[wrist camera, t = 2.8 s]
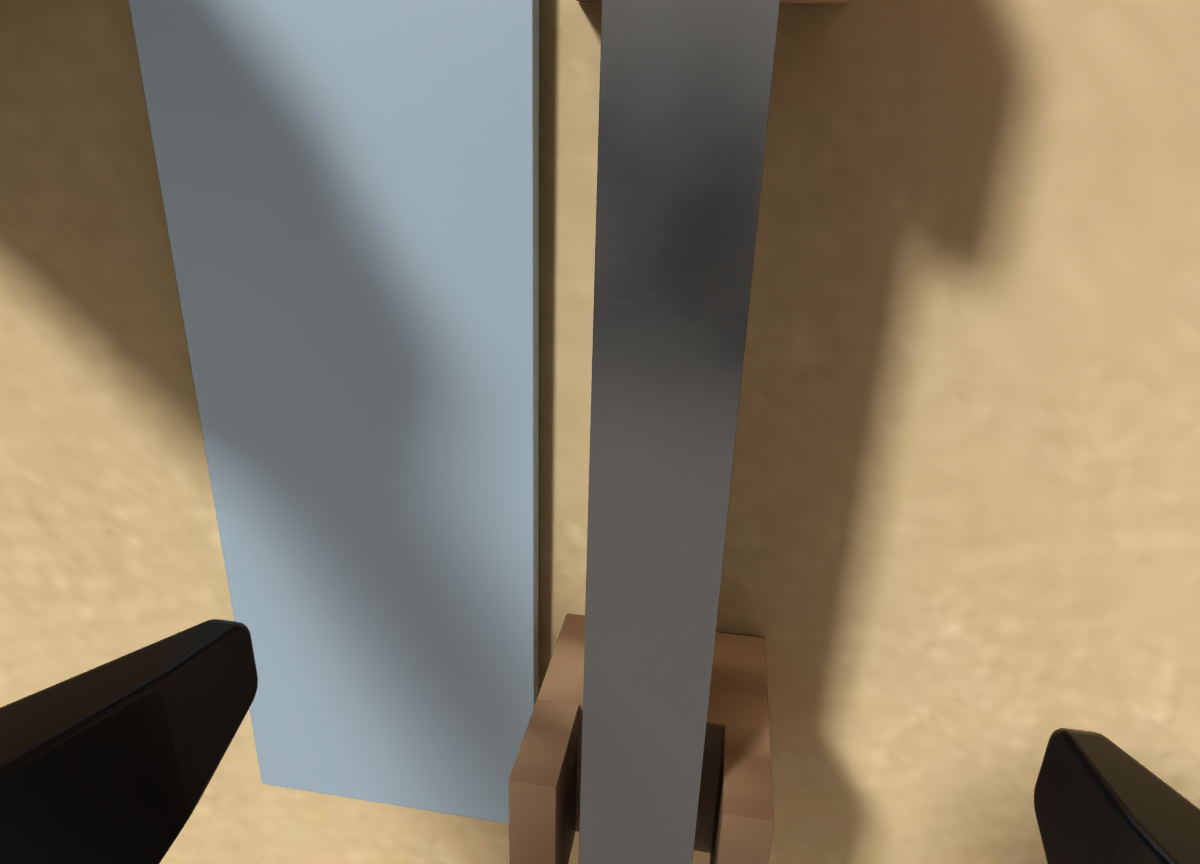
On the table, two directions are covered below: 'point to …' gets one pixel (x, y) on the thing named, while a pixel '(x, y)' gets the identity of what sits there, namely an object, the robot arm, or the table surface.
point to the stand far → (729, 769)
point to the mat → (365, 371)
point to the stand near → (794, 1)
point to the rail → (665, 400)
